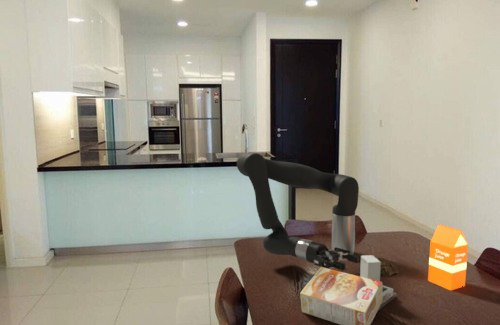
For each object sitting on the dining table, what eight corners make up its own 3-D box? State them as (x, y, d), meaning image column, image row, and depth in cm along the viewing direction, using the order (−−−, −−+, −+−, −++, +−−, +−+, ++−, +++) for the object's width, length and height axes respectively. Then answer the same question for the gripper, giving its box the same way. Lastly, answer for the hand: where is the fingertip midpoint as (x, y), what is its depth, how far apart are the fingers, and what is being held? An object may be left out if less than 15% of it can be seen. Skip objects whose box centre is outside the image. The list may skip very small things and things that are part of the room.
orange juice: (450, 290, 126) (454, 232, 124) (427, 280, 134) (430, 225, 131) (465, 285, 130) (469, 229, 127) (442, 276, 137) (445, 222, 135)
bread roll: (356, 270, 143) (357, 257, 143) (371, 261, 152) (371, 249, 152) (389, 280, 135) (390, 266, 134) (403, 270, 144) (403, 257, 143)
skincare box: (359, 290, 123) (360, 255, 122) (371, 290, 124) (373, 254, 122) (366, 299, 117) (368, 262, 116) (379, 298, 118) (381, 261, 116)
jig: (359, 284, 131) (359, 275, 131) (396, 296, 122) (396, 287, 121) (337, 297, 121) (337, 288, 121) (375, 312, 112) (376, 302, 112)
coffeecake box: (320, 265, 122) (382, 281, 111) (322, 284, 124) (383, 301, 113) (299, 292, 110) (365, 312, 99) (301, 312, 112) (366, 334, 101)
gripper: (299, 246, 130) (340, 258, 119) (322, 236, 140) (362, 247, 129) (298, 267, 131) (340, 281, 120) (322, 256, 141) (362, 268, 130)
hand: (351, 263), depth 125 cm, fingers open, 8 cm apart
